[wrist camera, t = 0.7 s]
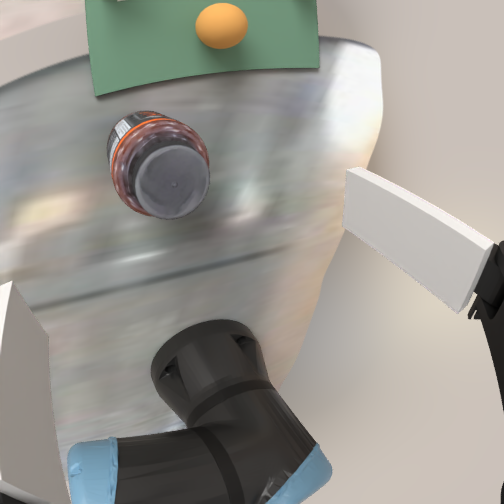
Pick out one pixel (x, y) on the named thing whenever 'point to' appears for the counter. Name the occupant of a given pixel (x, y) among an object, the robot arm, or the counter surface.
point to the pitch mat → (193, 40)
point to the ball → (221, 25)
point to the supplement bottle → (158, 165)
